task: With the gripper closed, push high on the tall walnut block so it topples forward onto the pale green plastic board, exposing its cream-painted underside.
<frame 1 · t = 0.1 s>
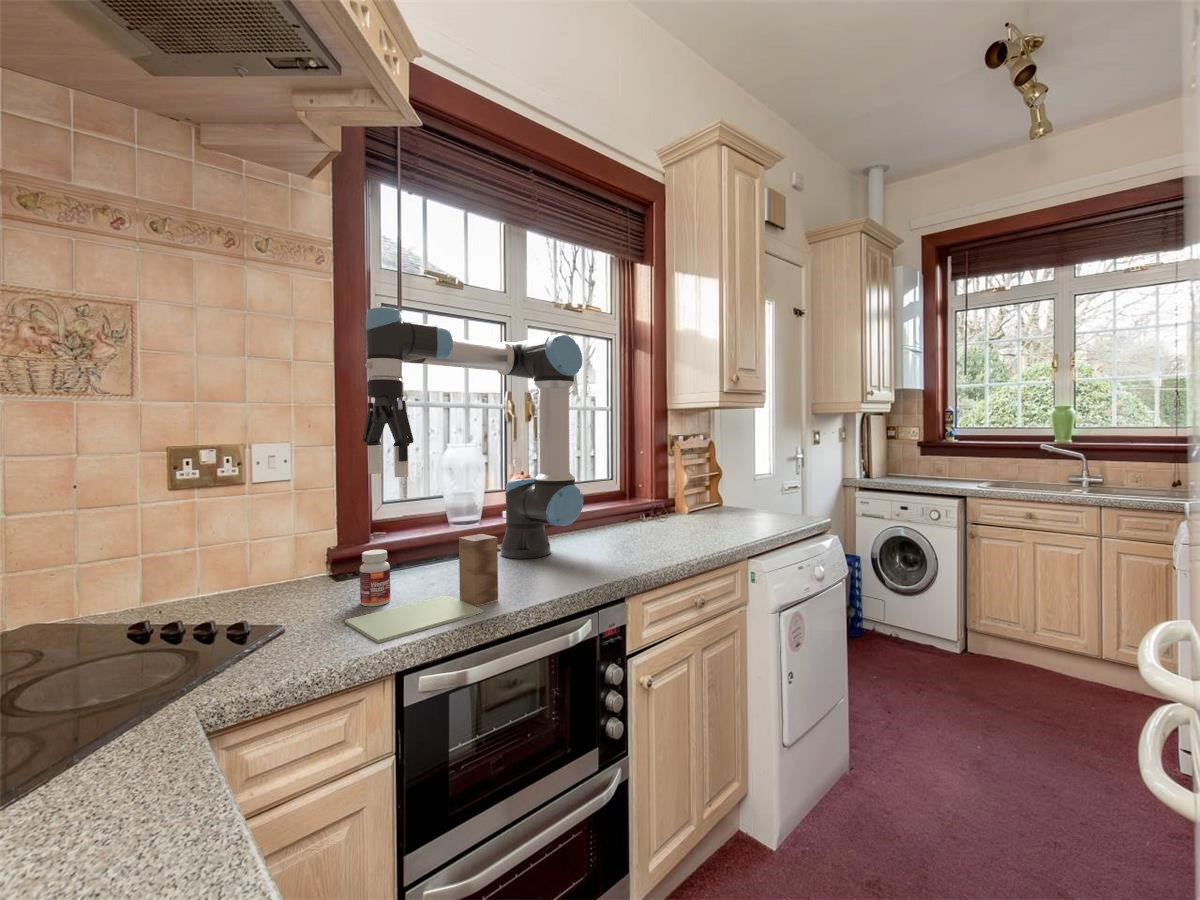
hand: (387, 475, 121), 28 cm above the countertop, fingers open, 13 cm apart
walnut block: (479, 600, 120), on the countertop
pill bottle: (375, 603, 120), on the countertop
board: (415, 617, 110), on the countertop
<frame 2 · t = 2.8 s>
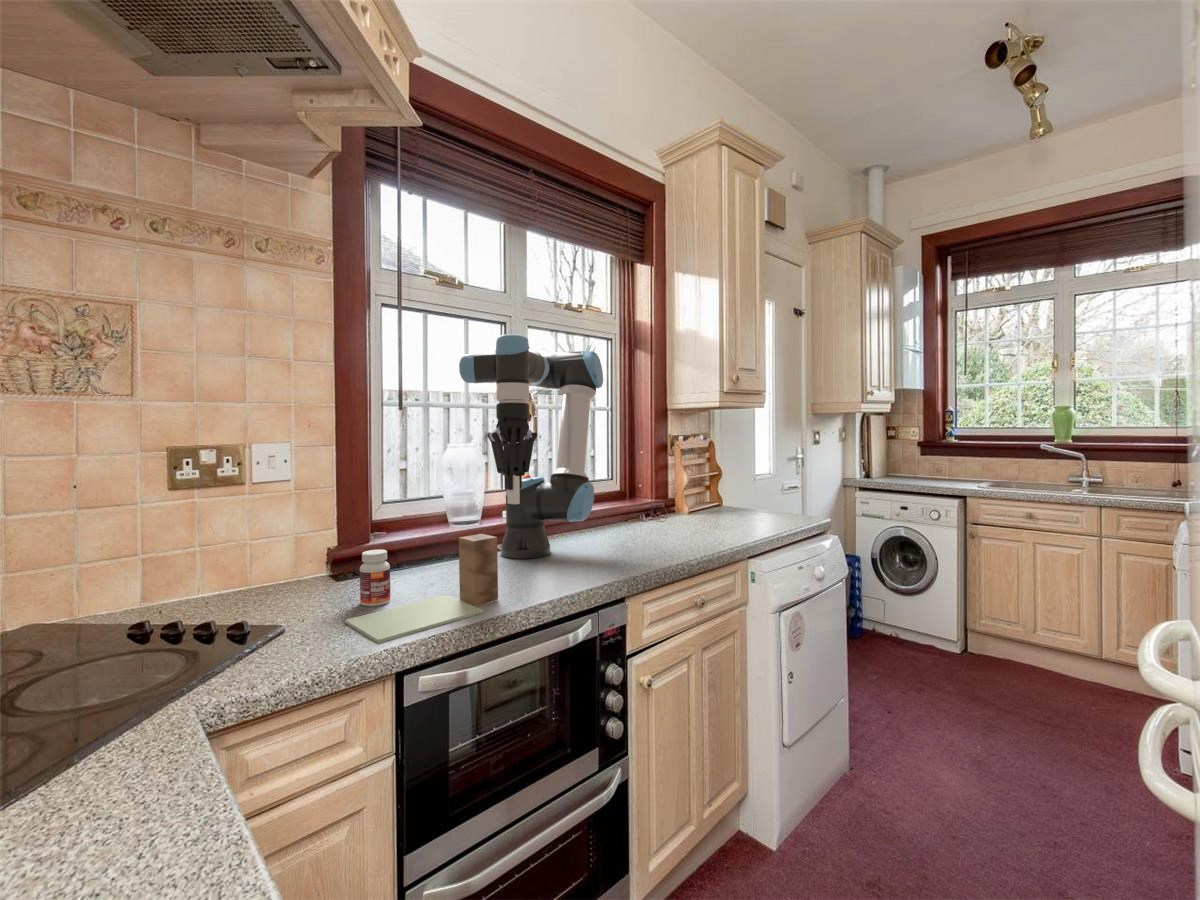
hand: (513, 503, 127), 21 cm above the countertop, fingers closed
nothing on the countertop moved.
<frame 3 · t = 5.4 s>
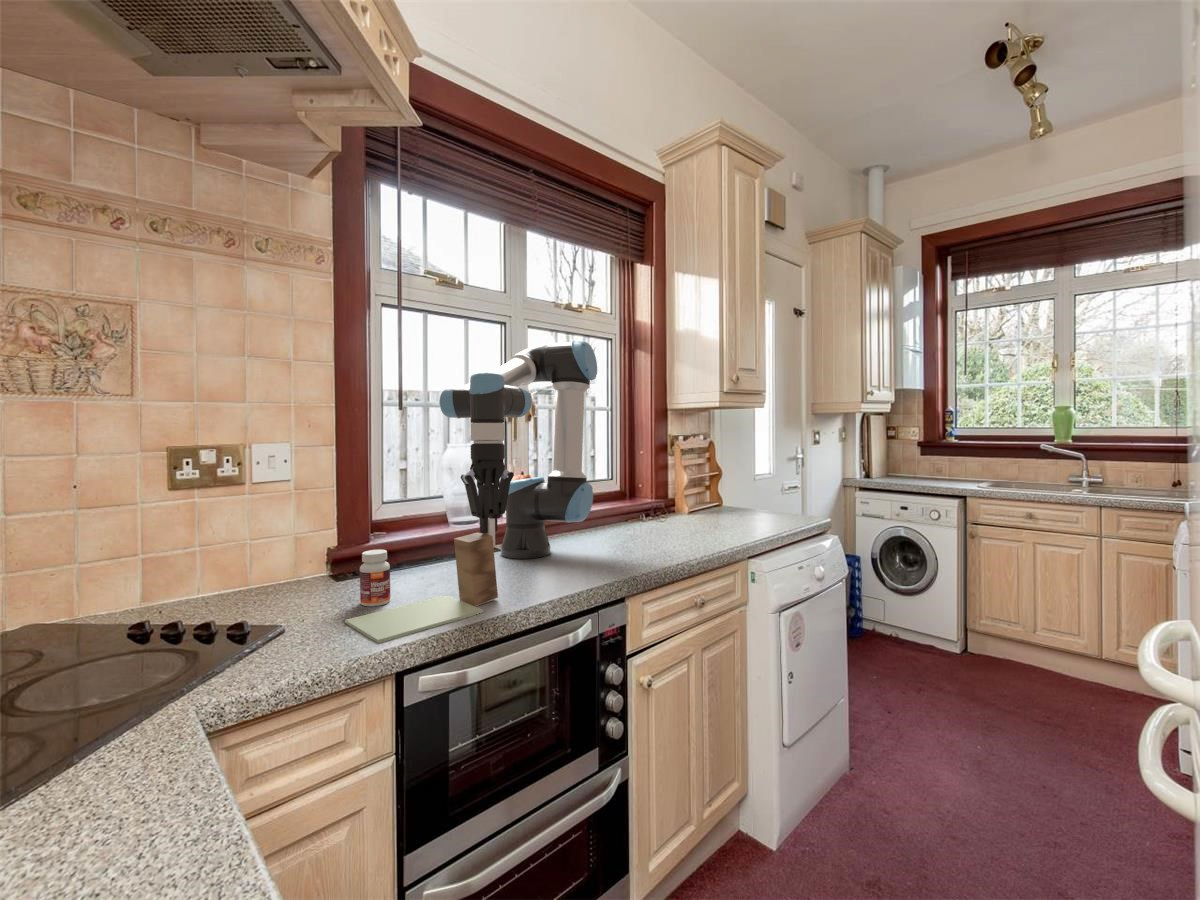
hand: (488, 546, 122), 12 cm above the countertop, fingers closed
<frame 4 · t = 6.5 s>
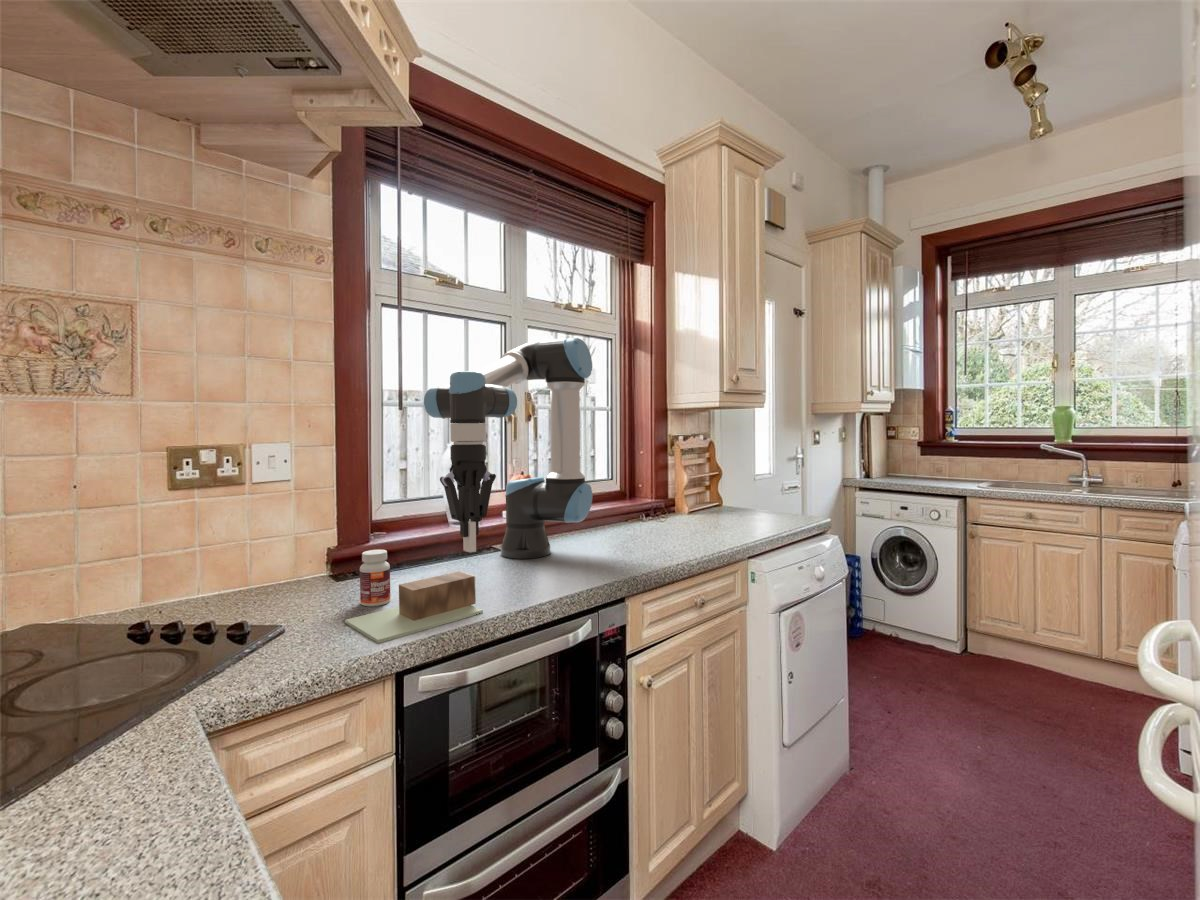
hand: (469, 550, 118), 11 cm above the countertop, fingers closed
walnut block: (467, 587, 118), point 4 cm above the countertop, tilted 90°, touching board
everything else where it was.
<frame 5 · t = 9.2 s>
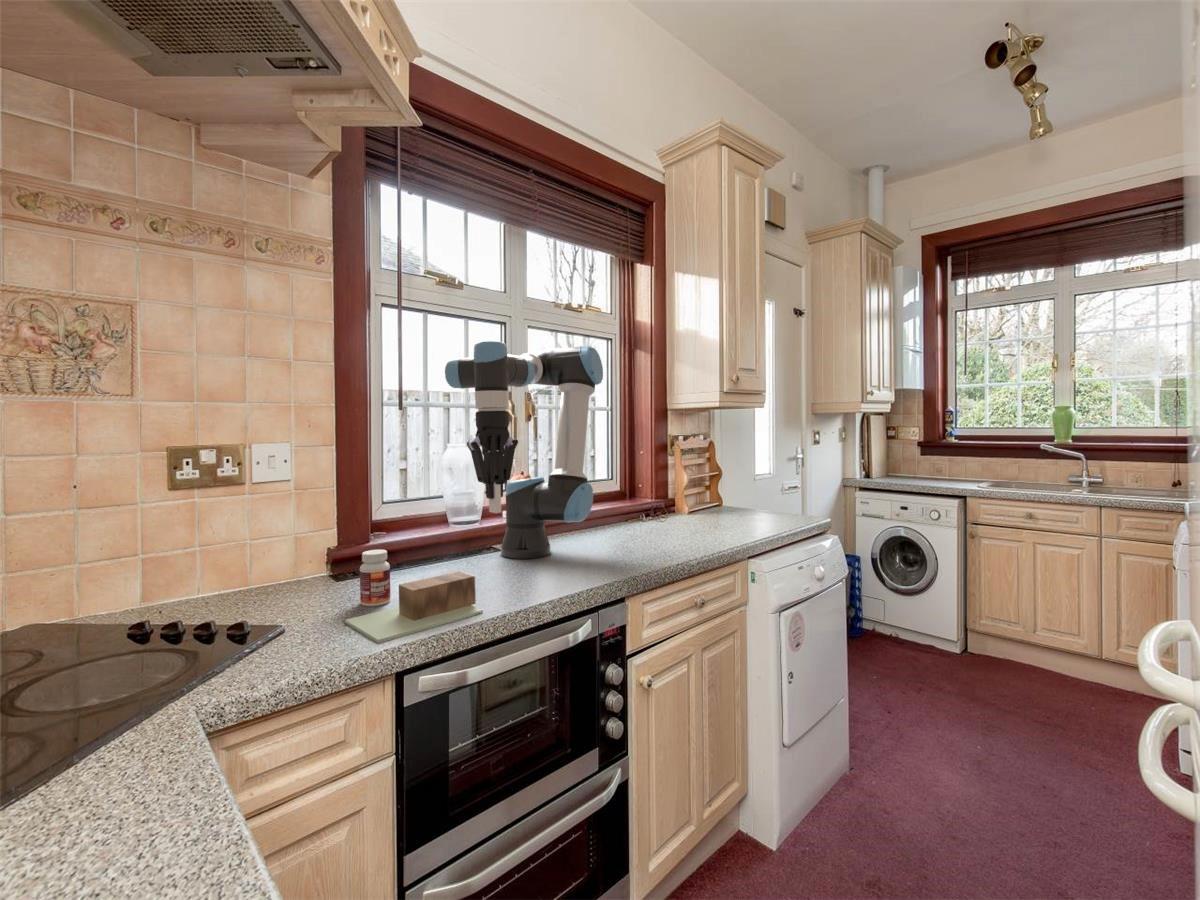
hand: (495, 512, 126), 19 cm above the countertop, fingers closed
nothing on the countertop moved.
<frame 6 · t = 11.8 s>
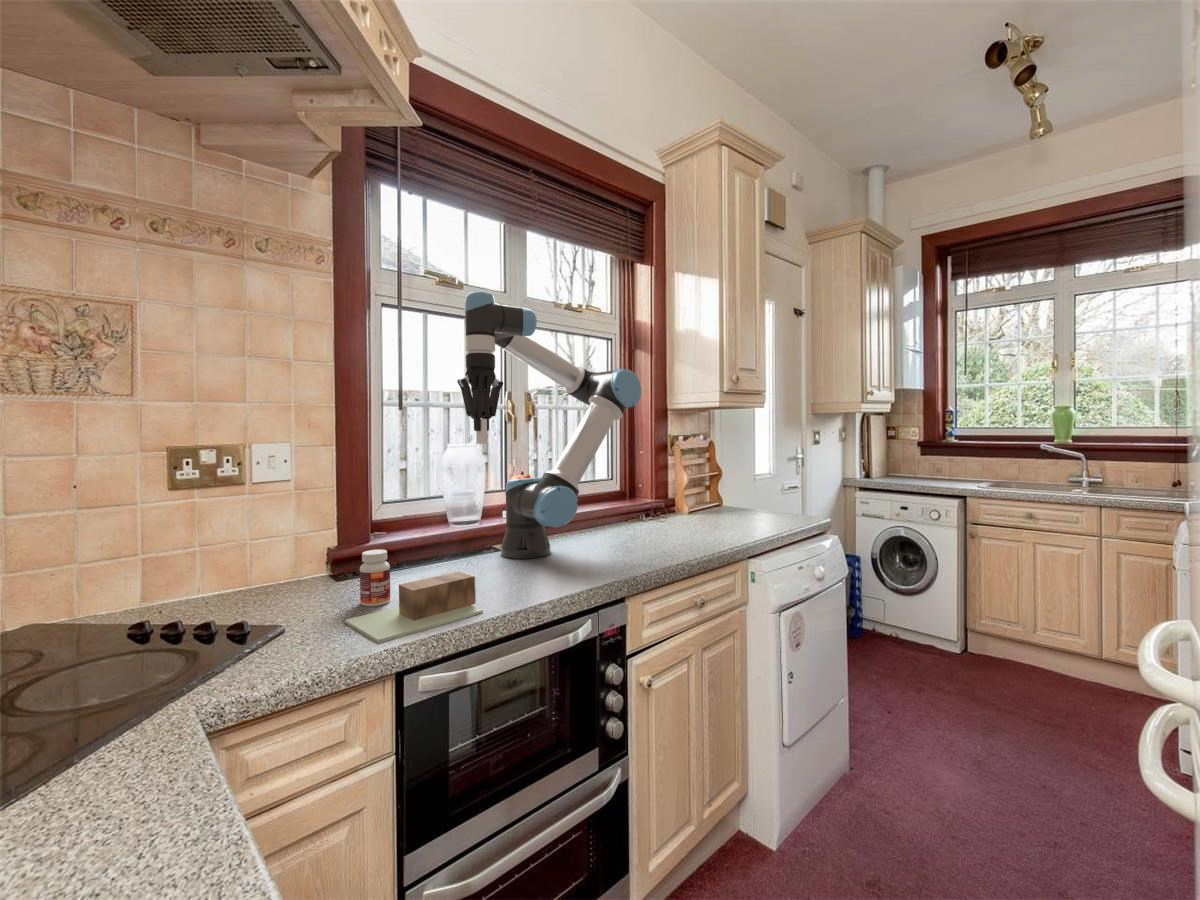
hand: (481, 443, 142), 34 cm above the countertop, fingers closed
nothing on the countertop moved.
at the end: walnut block tilted 90°; walnut block inside the target area (3.2 cm from its centre), point 3.6 cm above the countertop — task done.
